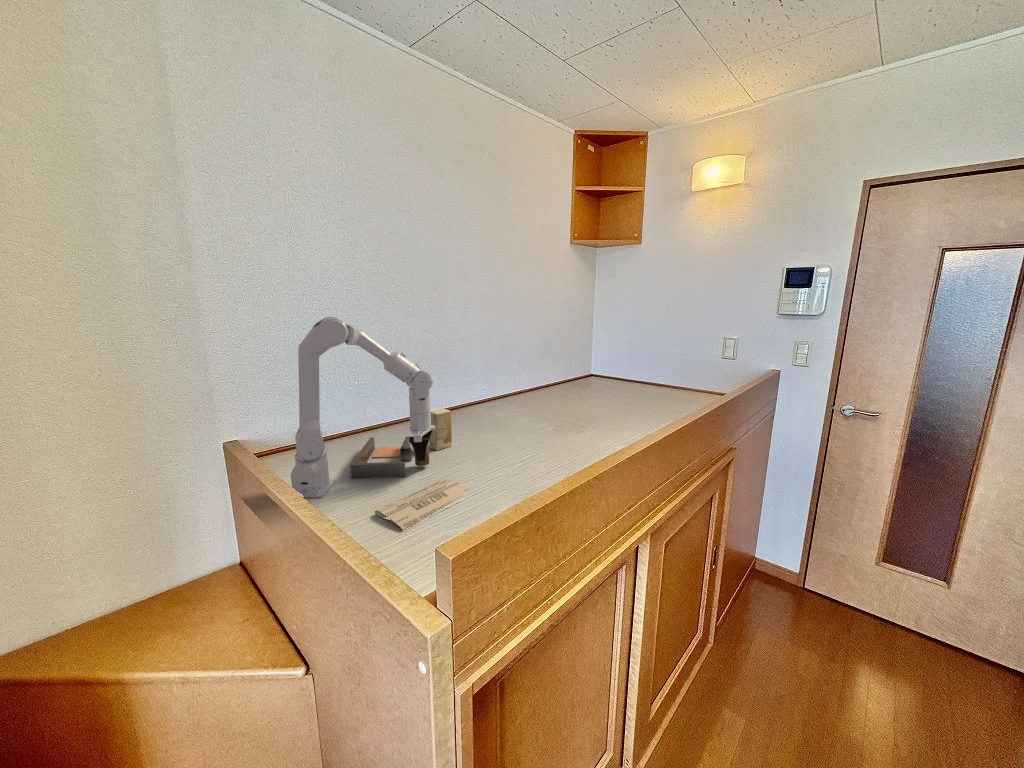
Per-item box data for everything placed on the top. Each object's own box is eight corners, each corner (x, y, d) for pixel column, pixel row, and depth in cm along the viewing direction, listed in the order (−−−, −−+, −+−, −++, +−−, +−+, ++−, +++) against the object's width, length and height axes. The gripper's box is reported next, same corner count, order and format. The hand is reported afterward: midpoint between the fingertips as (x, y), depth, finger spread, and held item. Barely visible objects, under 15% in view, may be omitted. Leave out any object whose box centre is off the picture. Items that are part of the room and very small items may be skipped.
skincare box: (437, 451, 129) (435, 414, 127) (428, 447, 132) (427, 411, 129) (452, 446, 134) (451, 410, 131) (444, 442, 137) (443, 407, 134)
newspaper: (443, 482, 109) (444, 473, 109) (475, 500, 102) (476, 492, 101) (367, 515, 92) (367, 505, 92) (399, 540, 85) (399, 530, 84)
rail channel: (405, 477, 111) (404, 463, 110) (351, 478, 109) (350, 465, 108) (415, 448, 132) (415, 436, 131) (371, 449, 130) (370, 437, 130)
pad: (399, 457, 124) (399, 456, 124) (372, 458, 123) (372, 456, 123) (403, 447, 132) (403, 446, 132) (378, 448, 131) (378, 447, 131)
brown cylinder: (428, 465, 115) (427, 445, 114) (414, 466, 115) (413, 446, 113) (430, 460, 119) (429, 440, 118) (416, 460, 118) (415, 441, 117)
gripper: (432, 419, 107) (433, 467, 110) (436, 404, 121) (438, 447, 124) (404, 419, 106) (407, 468, 109) (412, 405, 120) (414, 448, 123)
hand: (422, 457), depth 116 cm, fingers closed on brown cylinder, 4 cm apart
